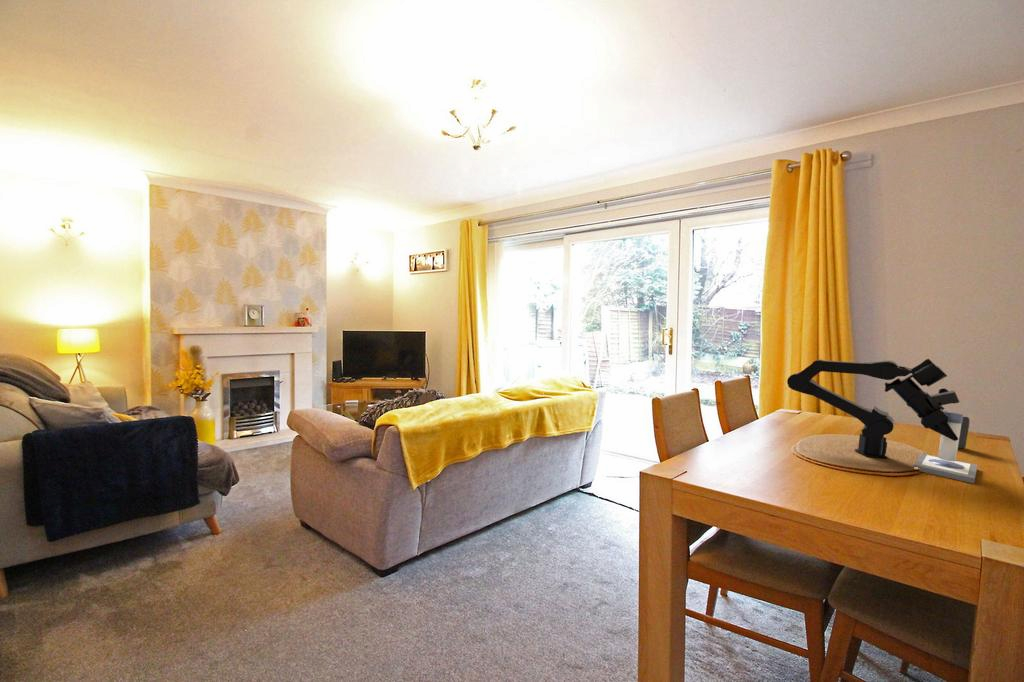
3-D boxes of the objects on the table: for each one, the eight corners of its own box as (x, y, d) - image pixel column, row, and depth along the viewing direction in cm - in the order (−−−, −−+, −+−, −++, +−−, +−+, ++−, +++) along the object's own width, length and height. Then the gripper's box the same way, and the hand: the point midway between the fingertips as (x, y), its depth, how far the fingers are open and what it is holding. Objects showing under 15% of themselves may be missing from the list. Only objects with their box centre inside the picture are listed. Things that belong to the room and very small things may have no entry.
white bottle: (935, 458, 143) (942, 412, 142) (939, 455, 146) (945, 410, 144) (954, 462, 140) (961, 415, 139) (957, 459, 143) (964, 414, 141)
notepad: (974, 483, 132) (974, 477, 132) (913, 469, 142) (914, 463, 141) (976, 469, 145) (977, 463, 145) (920, 457, 154) (921, 452, 154)
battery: (953, 445, 171) (958, 413, 170) (966, 448, 168) (971, 416, 167) (939, 445, 170) (944, 414, 169) (952, 449, 166) (956, 417, 165)
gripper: (942, 383, 136) (990, 430, 130) (938, 376, 150) (981, 418, 145) (903, 405, 142) (947, 450, 136) (902, 396, 156) (942, 437, 150)
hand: (956, 438), depth 141 cm, fingers closed on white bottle, 4 cm apart
